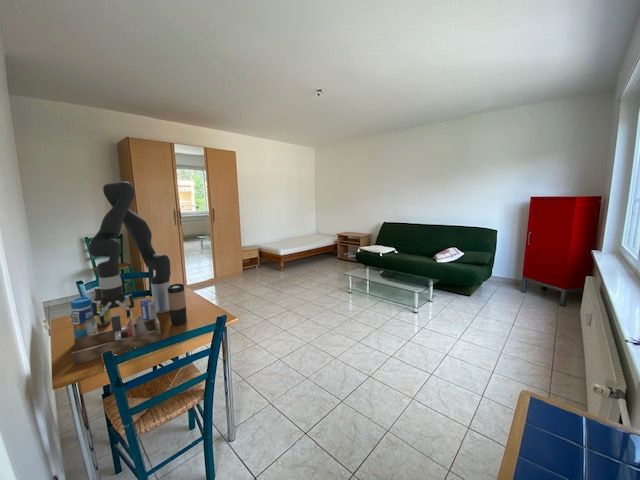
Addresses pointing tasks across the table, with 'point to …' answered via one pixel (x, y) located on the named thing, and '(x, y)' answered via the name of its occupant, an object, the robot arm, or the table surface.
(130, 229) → the robot arm
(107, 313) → the sauce bottle
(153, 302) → the walkman
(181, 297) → the travel mug
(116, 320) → the kicker
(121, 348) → the brown wooden open box
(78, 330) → the blue-lidded jar
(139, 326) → the flask
